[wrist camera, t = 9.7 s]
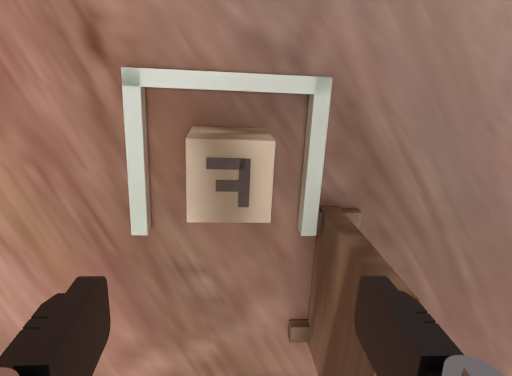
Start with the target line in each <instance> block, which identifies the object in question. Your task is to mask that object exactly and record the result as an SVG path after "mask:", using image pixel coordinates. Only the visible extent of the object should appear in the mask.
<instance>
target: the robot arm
mask: <svg viewBox="0 0 512 376" xmlns="http://www.w3.org/2000/svg"><path fill="white" fill-rule="evenodd" d="M354 326H355V332H356V335H357V337H358V339H359V341H360V343H361V345H362V347H363V349H364V351H365V353H366V355H367V357H368V359H369V361H370V363H371V365H372V367H373V369H374V371H375V373H376V375H377V376H504V375H503V374H502V373H501V372H499V371H498V370H497V369H496V368H494V367H493V366H491V365H490V364H488V363H486V362H484V361H482V360H480V359H477V358H474V357H471V356H466V355H464V354H463V353H462V352H461V351H460V350H459V348H458V347H457V346H456V345H455V344H454V342H453V341H452V340H451V339H450V338H449V337H448V335H447V334H446V333H445V332H444V331H443V329H442V328H441V327H440V326H439V325H438V324H436V322H435V320H434V319H433V318H432V317H431V315H430V314H428V313H427V311H426V309H425V308H424V307H423V306H422V305H421V304H420V302H419V301H418V300H416V299H415V298H413V297H412V296H410V295H409V294H407V293H406V292H404V291H399V290H398V289H397V288H396V287H395V285H394V284H393V283H392V282H391V280H390V279H389V278H388V277H387V276H385V275H372V276H362V277H361V278H360V281H359V287H358V294H357V301H356V307H355V314H354ZM109 332H110V310H109V299H108V288H107V280H106V278H105V277H104V276H79V277H77V278H76V279H75V281H74V282H73V283H72V285H71V286H70V288H69V289H68V290H67V292H66V293H57V294H56V295H54V296H53V297H51V298H50V299H48V300H47V301H46V302H44V303H43V304H41V305H40V307H39V308H38V309H37V311H36V312H35V313H34V314H33V316H32V317H31V319H29V321H28V322H27V323H26V324H25V326H24V327H23V330H21V331H20V332H19V333H18V334H17V336H16V337H15V338H14V340H13V341H12V342H11V343H10V345H9V346H8V347H7V348H6V350H5V351H4V352H3V353H2V355H1V356H0V376H92V375H93V372H94V370H95V368H96V366H97V363H98V361H99V359H100V356H101V354H102V352H103V350H104V347H105V345H106V343H107V340H108V337H109Z"/></svg>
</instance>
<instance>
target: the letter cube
mask: <svg viewBox="0 0 512 376" xmlns="http://www.w3.org/2000/svg"><path fill="white" fill-rule="evenodd" d="M274 157H275V140H274V139H273V137H272V136H271V135H270V133H269V132H268V131H267V129H266V128H246V127H216V126H192V128H191V130H190V131H189V133H188V135H187V137H186V203H187V222H219V223H270V220H271V204H272V188H273V172H274Z"/></svg>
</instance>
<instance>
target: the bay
mask: <svg viewBox="0 0 512 376" xmlns="http://www.w3.org/2000/svg"><path fill="white" fill-rule="evenodd" d="M121 77H122V93H123V109H124V125H125V140H126V156H127V172H128V188H129V203H130V219H131V235H148V233H149V231H150V229H151V211H150V189H149V167H148V145H147V122H146V100H145V87H159V88H182V89H205V90H228V91H251V92H274V93H296V94H309V104H308V115H307V126H306V138H305V149H304V160H303V171H302V183H301V194H300V205H299V216H298V230H299V232H300V234H301V236H316V230H317V220H318V211H319V202H320V192H321V183H322V173H323V164H324V155H325V145H326V136H327V126H328V117H329V108H330V98H331V89H332V79H333V77H316V76H295V75H275V74H254V73H234V72H213V71H193V70H172V69H152V68H131V67H121Z"/></svg>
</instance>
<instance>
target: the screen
mask: <svg viewBox="0 0 512 376" xmlns="http://www.w3.org/2000/svg"><path fill="white" fill-rule="evenodd" d="M361 218H362V212H361V211H360V210H359V209H340V208H339V206H320V207H319V211H318V220H317V230H316V231H317V235H316V245H315V254H314V263H313V273H312V282H311V291H310V301H309V310H308V320H289V329H288V337H289V341H290V342H308V345H309V348H310V351H311V354H312V357H313V361H314V364H315V367H316V370H317V373H318V376H377V375H376V373H375V371H374V369H373V367H372V365H371V363H370V361H369V359H368V357H367V355H366V353H365V351H364V349H363V347H362V345H361V343H360V341H359V339H358V337H357V335H356V332H355V326H354V314H355V307H356V301H357V294H358V287H359V281H360V278H361V277H362V276H372V275H385V276H387V277H388V278H389V279H390V280H391V282H392V283H393V284H394V285H395V287H396V288H397V289H398V290H399V291H404V292H406V293H407V294H409V295H410V296H412V297H413V298H415V299H416V300H418V301H419V299H418V298H417V297H416V296H415V295H414V294H413V292H412V291H411V290H410V289H409V288H408V287H407V285H406V284H405V283H404V282H403V281H402V280H401V278H400V277H399V276H398V275H397V274H396V273H395V271H394V270H393V269H392V268H391V267H390V266H389V264H388V263H387V262H386V261H385V260H384V259H383V258H382V256H381V255H380V254H379V253H378V252H377V251H376V249H375V248H374V247H373V246H372V245H371V244H370V242H369V241H368V240H367V239H366V238H365V237H364V235H363V234H362V233H361V232H360V225H361Z"/></svg>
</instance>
